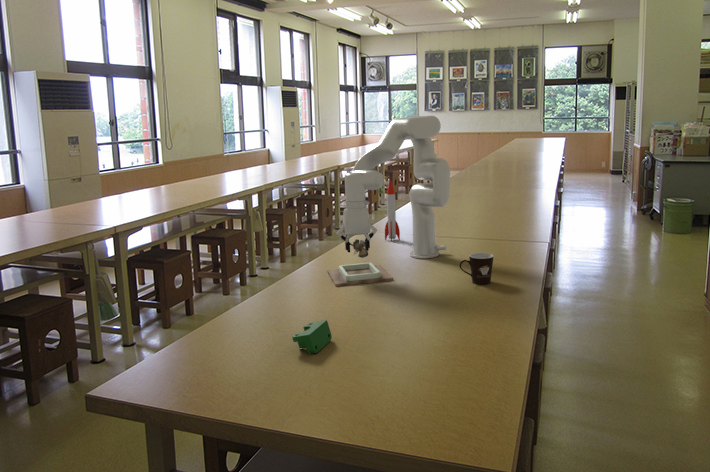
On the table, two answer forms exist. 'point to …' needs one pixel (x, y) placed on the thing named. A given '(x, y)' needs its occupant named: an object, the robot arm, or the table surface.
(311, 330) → the clamp
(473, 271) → the coffee mug
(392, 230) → the toy rocket
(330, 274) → the jig board
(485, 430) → the table surface
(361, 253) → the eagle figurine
